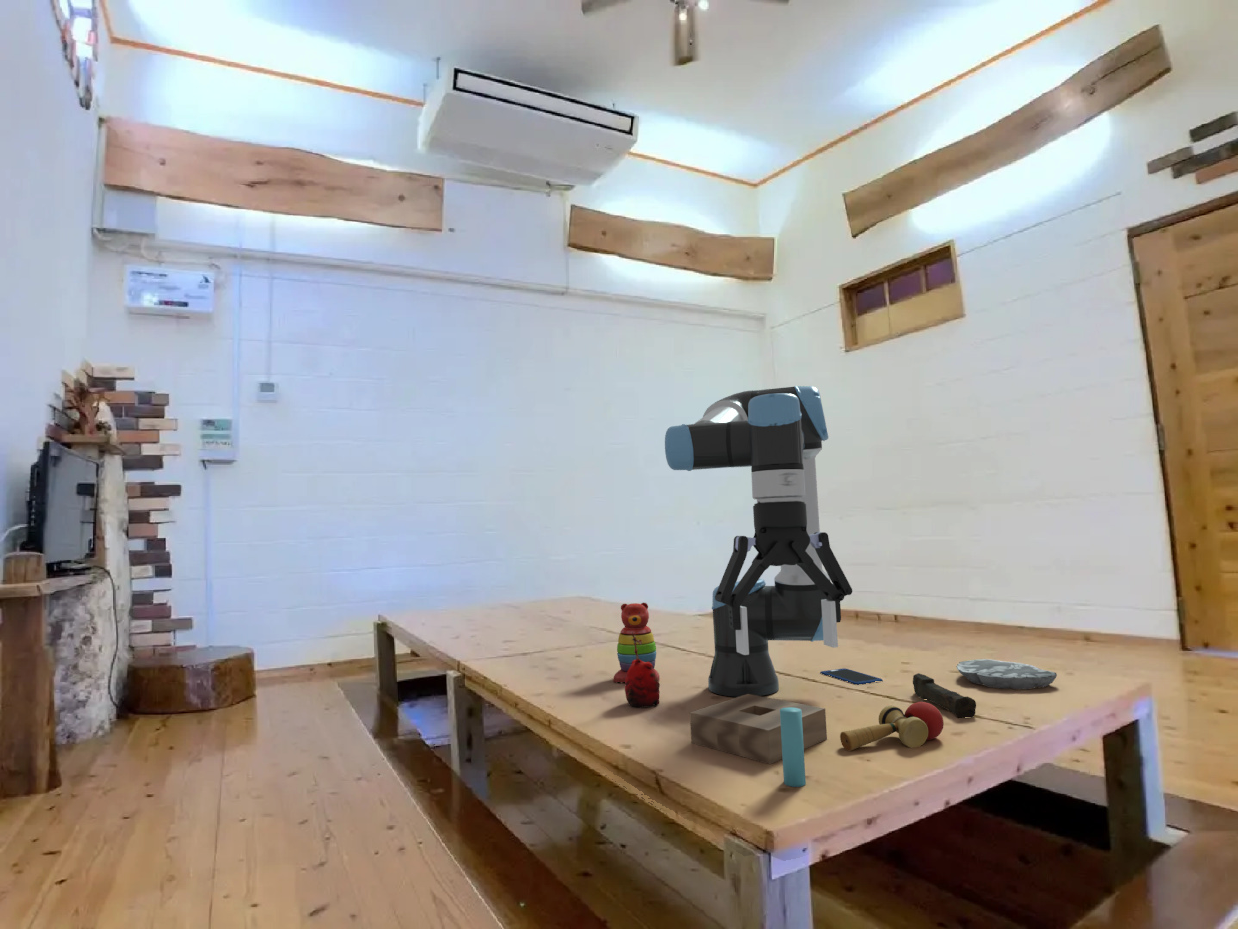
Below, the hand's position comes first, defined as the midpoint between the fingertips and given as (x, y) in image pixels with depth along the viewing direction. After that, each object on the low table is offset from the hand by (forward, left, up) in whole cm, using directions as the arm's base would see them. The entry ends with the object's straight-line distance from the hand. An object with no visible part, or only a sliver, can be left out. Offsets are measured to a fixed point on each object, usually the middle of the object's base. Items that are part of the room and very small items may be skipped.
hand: (787, 649), depth 102 cm
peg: (0, 0, -18) cm, 18 cm away
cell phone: (-27, +63, -19) cm, 71 cm away
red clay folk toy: (-47, +16, -19) cm, 53 cm away
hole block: (-15, +12, -18) cm, 27 cm away
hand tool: (-2, +52, -19) cm, 55 cm away
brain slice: (0, +78, -19) cm, 80 cm away
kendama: (+2, +25, -19) cm, 32 cm away
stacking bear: (-65, +32, -19) cm, 75 cm away
